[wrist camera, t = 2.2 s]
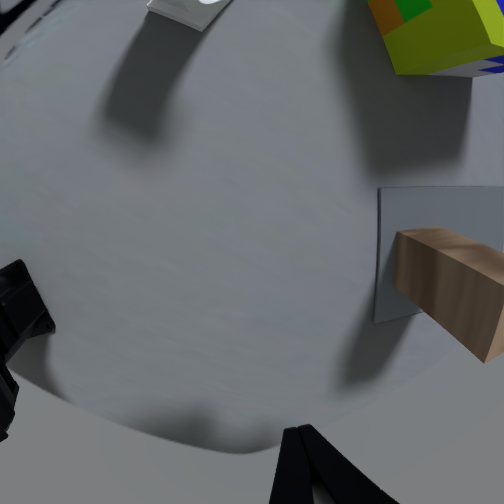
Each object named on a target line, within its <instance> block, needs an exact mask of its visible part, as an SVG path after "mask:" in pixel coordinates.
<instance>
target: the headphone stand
mask: <svg viewBox="0 0 504 504" xmlns="http://www.w3.org/2000/svg"><path fill="white" fill-rule="evenodd" d="M230 1H231V0H151V1H150V2H149V3H148V4H147V5H146V6H147V8H148V10H149V11H152V12H154V13H157V14H160V15H162V16H165V17H168V18H170V19H173V20H175V21H177V22H180V23H182V24H185V25H187V26H189V27H192V28H194V29H196V30H198V31H200V32H203V30H204V29H205V28H206V27H207V26H208V25H209V23H210V22H211V21H212V20H213V19H214V18H215V17H216V16H217V14H218V13H219V12H220V11H221V10H222V9H223V8H224V7H225V6H226V5H227V4H228V3H229V2H230Z"/></svg>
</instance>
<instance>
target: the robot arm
mask: <svg viewBox="0 0 504 504" xmlns="http://www.w3.org/2000/svg"><path fill="white" fill-rule="evenodd" d="M18 264H19V265H20V267H19V265H18ZM49 325H50V326H49ZM54 328H55V325H54V323H53V321H52V319H51V317H50V315H49V314H48V312H47V310H46V308H45V306H44V304H43V302H42V300H41V298H40V296H39V294H38V292H37V290H36V288H35V286H34V284H33V282H32V280H31V278H30V276H29V273H28V271H27V269H26V267H25V264H24V262H23V261H22V260H21V259H18V260H16V261H14V262H12V263H11V264H9V265H7V266H5V267H4V268H2V269H0V442H1V441H3V440H5V439H6V438H8V434H7V433H6V431H7V430H8V428H9V426H10V424H11V423H12V421H13V418H14V416H15V411H14V406H15V402H16V398H17V394H18V391H19V386H18V384H17V382H16V381H14V379H13V377H12V375H11V374H10V372H9V370H8V368H7V366H6V365H5V364H6V363H7V362H8V361H9V360H10V358H11V357H12V356H13V355H14V354H15V352H16V351H17V350H18V349H19V348H20V346H21V345H22V344H23V343H24V342H25V341H26V340H27V339H28V338H31V337H35V336H38V335H41V334H45V333H48V332H51V331H52V330H53V329H54ZM269 504H400V503H398V502H397V501H395V500H394V499H393V498H392V497H390V496H389V495H388V494H387V493H385V492H384V491H383V490H380V488H379V487H378V486H377V485H376V484H375V483H373V482H372V481H371V480H370V479H369V478H368V477H367V476H365V475H364V474H363V473H362V472H361V471H360V470H359V469H357V468H356V467H355V466H354V465H353V464H352V463H351V462H350V461H349V460H348V459H346V458H345V457H344V456H343V455H342V454H341V453H340V452H339V451H338V450H337V449H336V448H335V447H334V446H333V445H331V444H330V443H329V442H328V441H327V440H326V439H325V438H324V437H323V436H322V435H321V434H320V433H319V432H318V431H317V430H316V429H315V428H314V427H313V426H312V425H310V424H306V425H301V426H298V427H290V428H285V429H284V431H283V437H282V442H281V447H280V453H279V458H278V463H277V468H276V473H275V477H274V482H273V487H272V491H271V496H270V500H269Z"/></svg>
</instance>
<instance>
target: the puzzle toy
mask: <svg viewBox="0 0 504 504" xmlns="http://www.w3.org/2000/svg"><path fill="white" fill-rule="evenodd" d="M366 1H367V3H368V5H369V7H370V9H371V12H372V14H373V16H374V18H375V21H376V23H377V25H378V28H379V30H380V32H381V35H382V37H383V40H384V42H385V45H386V48H387V50H388V53H389V56H390V59H391V61H392V64H393V67H394V70H395V73H396V75H444V76H460V77H472V78H473V77H478V76H484V75H490V74H496V73H502V72H504V0H366Z"/></svg>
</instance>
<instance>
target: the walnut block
mask: <svg viewBox="0 0 504 504" xmlns="http://www.w3.org/2000/svg"><path fill="white" fill-rule="evenodd" d="M393 287H395V288H396V289H397V290H398V291H400V292H401V293H402V294H403V295H405V296H406V297H407V298H408V299H410V300H411V301H412V302H413V303H415V304H416V305H417V306H418V307H419V308H421V309H422V310H423V311H424V312H425V313H427V314H428V315H429V316H430V317H431V318H433V319H434V320H435V321H436V322H437V323H439V324H440V325H441V326H442V327H443V328H444V329H446V330H447V331H448V332H449V333H450V334H451V335H452V336H454V337H455V338H456V339H457V340H458V341H459V342H460V343H462V344H463V345H464V346H465V347H466V348H467V349H468V350H469V351H471V352H472V353H473V354H474V355H475V356H476V357H477V358H478V359H479V360H480V361H482V362H483V363H486V362H488V361H490V360H491V359H493V358H495V357H496V356H498V355H500V354H501V353H503V352H504V253H502V252H500V251H498V250H496V249H493V248H491V247H489V246H486V245H484V244H482V243H479V242H477V241H475V240H472V239H470V238H467V237H465V236H462V235H460V234H457V233H455V232H452V231H450V230H447V229H445V228H442V227H439V226H437V227H428V228H419V229H411V230H402V231H397V237H396V256H395V270H394V281H393Z"/></svg>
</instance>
